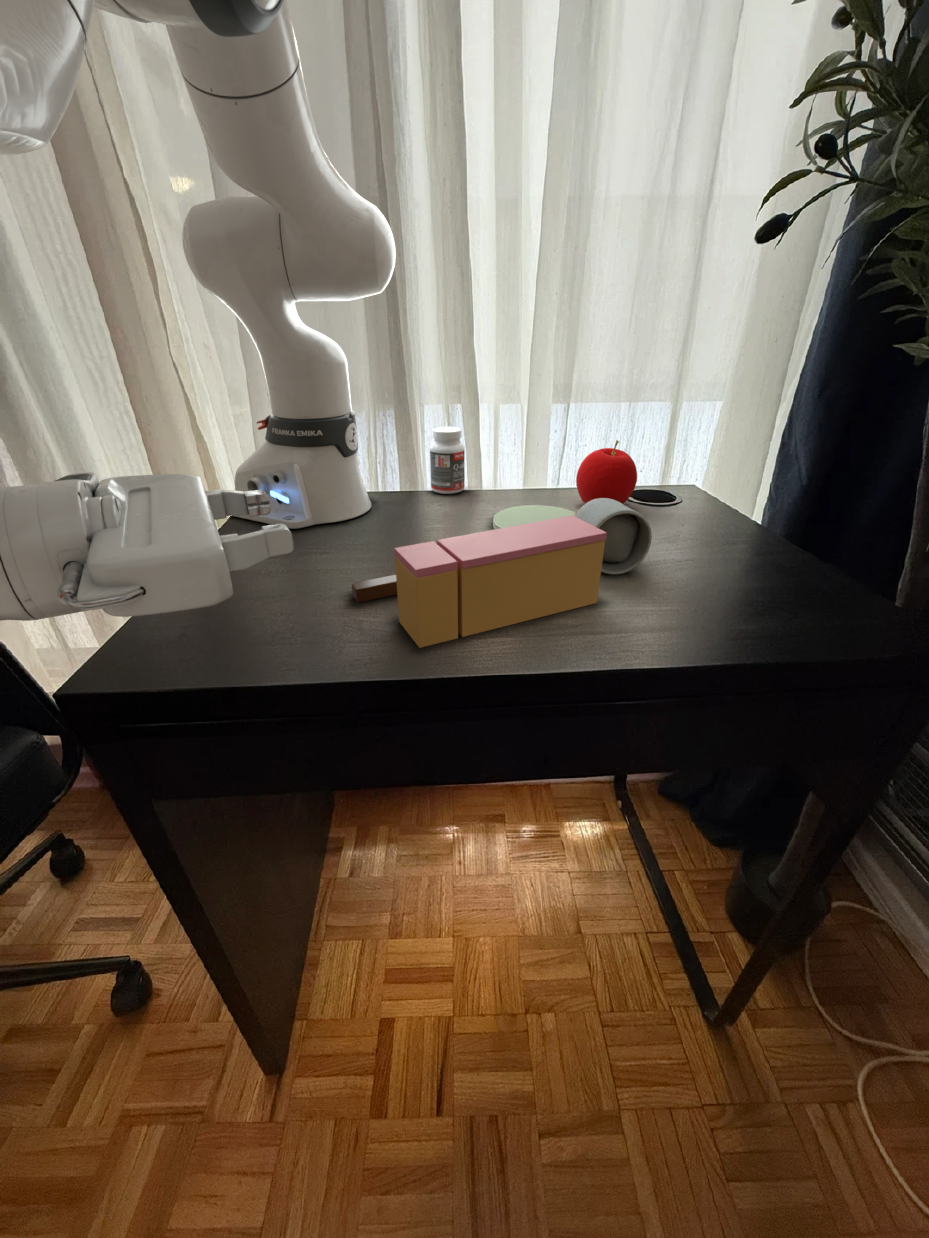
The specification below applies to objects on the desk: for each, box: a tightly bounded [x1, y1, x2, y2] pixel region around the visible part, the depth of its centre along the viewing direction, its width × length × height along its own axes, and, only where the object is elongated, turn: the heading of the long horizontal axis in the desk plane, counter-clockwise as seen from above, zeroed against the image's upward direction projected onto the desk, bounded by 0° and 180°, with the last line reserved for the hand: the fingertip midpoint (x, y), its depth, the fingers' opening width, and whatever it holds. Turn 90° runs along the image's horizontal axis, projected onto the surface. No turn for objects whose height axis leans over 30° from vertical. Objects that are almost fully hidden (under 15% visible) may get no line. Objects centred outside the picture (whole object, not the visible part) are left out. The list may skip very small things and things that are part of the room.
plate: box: [492, 504, 577, 530], centre depth 81 cm, size 13×13×1 cm
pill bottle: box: [429, 426, 466, 495], centre depth 94 cm, size 6×6×10 cm
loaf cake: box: [436, 516, 607, 638], centre depth 58 cm, size 16×6×8 cm, turn 116°
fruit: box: [575, 439, 638, 505], centre depth 86 cm, size 9×9×10 cm
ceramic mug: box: [575, 498, 653, 576], centre depth 68 cm, size 11×8×8 cm
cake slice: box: [393, 540, 459, 649], centre depth 54 cm, size 4×6×8 cm
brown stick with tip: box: [351, 574, 397, 604], centre depth 65 cm, size 20×2×2 cm, turn 116°
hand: (278, 518), depth 44 cm, fingers open, 8 cm apart
